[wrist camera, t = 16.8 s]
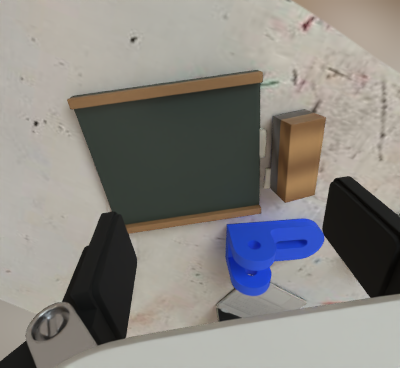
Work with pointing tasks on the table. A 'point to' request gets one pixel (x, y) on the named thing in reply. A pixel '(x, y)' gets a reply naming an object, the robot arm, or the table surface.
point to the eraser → (296, 154)
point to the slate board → (177, 149)
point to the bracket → (267, 250)
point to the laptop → (257, 304)
